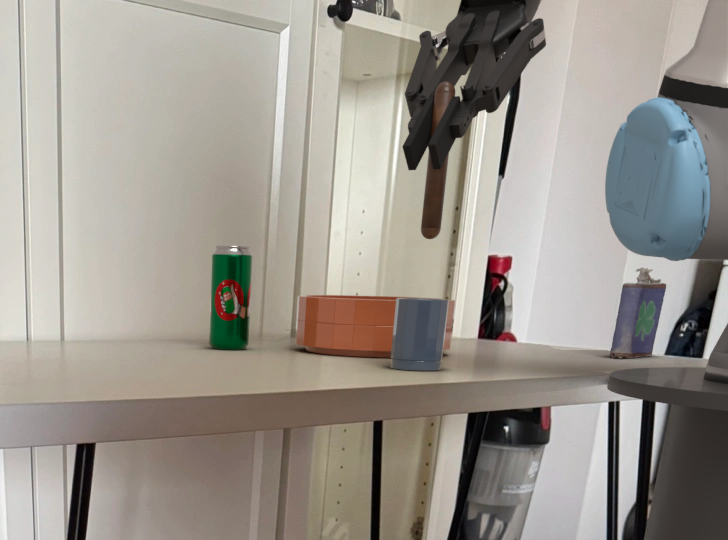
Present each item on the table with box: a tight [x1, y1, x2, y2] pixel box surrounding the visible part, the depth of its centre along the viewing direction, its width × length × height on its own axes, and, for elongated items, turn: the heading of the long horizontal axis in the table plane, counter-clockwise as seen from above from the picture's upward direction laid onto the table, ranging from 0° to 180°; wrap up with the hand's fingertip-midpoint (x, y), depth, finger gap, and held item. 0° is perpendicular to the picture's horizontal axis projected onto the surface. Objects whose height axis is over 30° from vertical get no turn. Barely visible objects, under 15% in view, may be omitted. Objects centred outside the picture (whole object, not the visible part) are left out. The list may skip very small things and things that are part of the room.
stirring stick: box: [420, 81, 456, 240], centre depth 103 cm, size 2×2×14 cm
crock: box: [389, 297, 449, 372], centre depth 110 cm, size 5×6×7 cm
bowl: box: [294, 294, 457, 359], centre depth 131 cm, size 20×20×6 cm
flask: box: [609, 267, 667, 359], centre depth 133 cm, size 9×3×11 cm, turn 132°
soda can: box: [208, 245, 253, 351], centre depth 130 cm, size 5×5×12 cm
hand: (421, 157), depth 100 cm, fingers closed on stirring stick, 2 cm apart
